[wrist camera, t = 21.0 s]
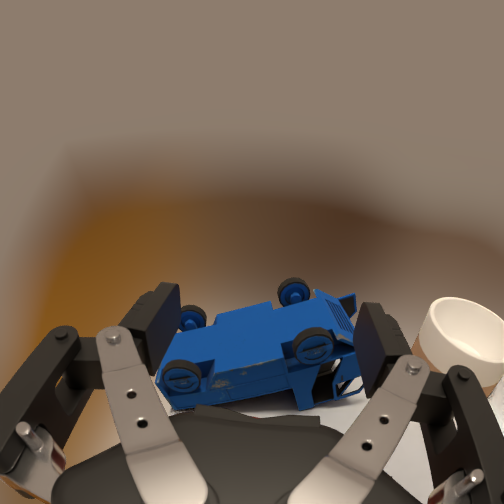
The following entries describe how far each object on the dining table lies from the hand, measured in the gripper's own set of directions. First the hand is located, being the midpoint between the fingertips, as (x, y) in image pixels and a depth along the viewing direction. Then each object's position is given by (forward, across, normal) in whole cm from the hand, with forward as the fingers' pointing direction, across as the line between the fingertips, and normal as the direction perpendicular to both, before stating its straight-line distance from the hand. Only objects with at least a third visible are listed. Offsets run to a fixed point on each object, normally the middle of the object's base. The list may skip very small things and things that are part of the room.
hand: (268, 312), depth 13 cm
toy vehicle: (+16, +1, +11) cm, 19 cm away
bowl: (+19, -31, +22) cm, 43 cm away
